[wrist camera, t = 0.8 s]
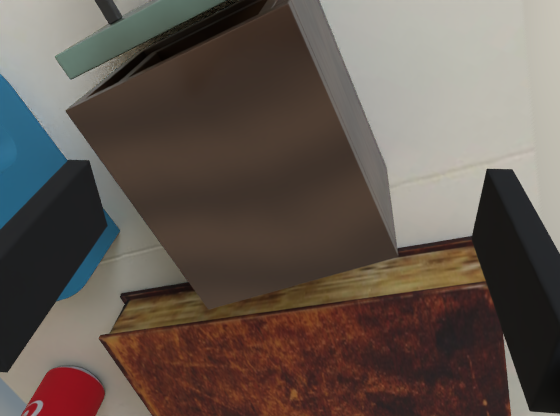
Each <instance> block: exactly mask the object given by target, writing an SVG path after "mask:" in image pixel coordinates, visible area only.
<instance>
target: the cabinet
mask: <svg viewBox="0 0 560 416" xmlns="http://www.w3.org/2000/svg"><path fill="white" fill-rule="evenodd" d="M255 1H257V0H240V1H238V2H236V3H234V4H232V5H230V6H228V7H226V8H224V9H222V10H220V11H218V12H216V13H214V14H212V15H210V16H208V17H206V18H204V19H202V20H200V21H198V22H196V23H194V24H192V25H190V26H188V27H186V28H184V29H182V30H180V31H178V32H176V33H174V34H172V35H170V36H168V37H166V38H164V39H162V40H160V41H158V42H156V43H154V44H152V45H150V46H148V47H146V48H144V49H142V50H140V51H138V52H137V53H136V54H134V55H133V56H132V57H131V58H129V59H128V60H127V61H126V62H124V63H123V64H122V65H121V66H120V67H118V68H117V69H116V70H115V71H113V72H112V73H111V74H110V75H108V76H107V77H106V78H105V79H104V80H102V81H101V82H100V83H99V84H97V85H96V86H95V87H94V88H93V89H91V90H90V91H89V92H88V93H86V94H85V95H84V96H83V97H82V98H80V99H79V100H78V101H77V102H75V103H74V104H73V105H72V106H71V107H69V108H68V109H67V110H66V113H67V114H68V115H69V117H70V118H71V120H72V121H73V122H74V124H75V125H76V126H77V128H78V129H79V131H80V132H81V133H82V135H83V136H84V138H85V139H86V140H87V142H88V143H89V144H90V146H91V147H92V149H93V150H94V151H95V153H96V154H97V156H98V157H99V158H100V160H101V161H102V163H103V164H104V165H105V167H106V168H107V169H108V171H109V172H110V174H111V175H112V176H113V178H114V179H115V181H116V182H117V183H118V185H119V186H120V188H121V189H122V190H123V192H124V193H125V194H126V196H127V197H128V199H129V200H130V201H131V203H132V204H133V206H134V207H135V208H136V210H137V211H138V213H139V214H140V215H141V217H142V218H143V219H144V221H145V222H146V224H147V225H148V226H149V228H150V229H151V231H152V232H153V233H154V235H155V236H156V237H157V239H158V240H159V242H160V243H161V244H162V246H163V247H164V249H165V250H166V251H167V253H168V254H169V256H170V257H171V258H172V260H173V261H174V262H175V264H176V265H177V267H178V268H179V269H180V271H181V272H182V274H183V275H184V276H185V278H186V279H187V281H188V282H189V283H190V285H191V286H192V287H193V289H194V290H195V292H196V293H197V294H198V296H199V297H200V299H201V300H202V301H203V303H204V304H205V306H206V307H207V308H208V309H213V308H216V307H220V306H224V305H227V304H231V303H234V302H238V301H242V300H245V299H249V298H252V297H256V296H260V295H263V294H267V293H270V292H274V291H278V290H281V289H285V288H289V287H292V286H296V285H299V284H303V283H307V282H310V281H314V280H317V279H321V278H325V277H328V276H332V275H335V274H339V273H343V272H346V271H350V270H353V269H357V268H361V267H364V266H368V265H371V264H375V263H379V262H382V261H386V260H390V259H393V258H397V257H398V250H397V243H396V235H395V228H394V220H393V213H392V205H391V197H390V190H389V182H388V175H387V167H386V165H385V162H384V160H383V157H382V155H381V152H380V150H379V148H378V145H377V143H376V140H375V138H374V135H373V133H372V130H371V128H370V125H369V123H368V120H367V118H366V115H365V113H364V110H363V108H362V105H361V103H360V100H359V98H358V95H357V93H356V91H355V88H354V86H353V83H352V81H351V78H350V76H349V73H348V71H347V68H346V66H345V63H344V61H343V58H342V56H341V53H340V51H339V48H338V46H337V43H336V41H335V39H334V36H333V34H332V31H331V29H330V26H329V24H328V21H327V19H326V16H325V14H324V11H323V9H322V6H321V4H320V1H319V0H278V1H277V3H276V4H275V6H274V7H273V8H271V9H269V10H267V11H264V12H262V13H260V14H258V15H256V16H254V17H252V18H250V19H248V20H246V21H244V22H242V23H240V24H238V25H236V26H234V27H232V28H229V29H227V30H225V31H223V32H221V33H219V34H217V35H215V36H213V37H211V38H209V39H207V40H205V41H203V42H201V43H199V44H197V45H194V46H192V47H190V48H188V49H186V50H184V51H182V52H180V53H178V54H176V55H174V56H172V57H170V58H168V59H166V60H164V61H162V62H159V63H157V64H155V65H153V66H151V67H149V68H147V69H145V70H143V71H141V72H139V73H137V74H135V75H133V76H131V77H129V78H127V79H124V80H122V81H120V80H121V79H122V78H123V77H125V76H126V75H127V74H128V73H129V72H130V71H131V70H133V69H134V68H135V67H136V66H137V65H138V64H139V63H141V62H142V61H143V60H144V59H145V58H146V57H147V56H148V55H149V54H151V53H152V52H154V51H156V50H158V49H160V48H163V47H165V46H167V45H169V44H171V43H173V42H175V41H177V40H179V39H181V38H183V37H185V36H187V35H189V34H191V33H193V32H195V31H197V30H199V29H201V28H203V27H205V26H207V25H209V24H211V23H213V22H215V21H217V20H219V19H221V18H223V17H225V16H227V15H229V14H231V13H233V12H235V11H237V10H239V9H241V8H243V7H245V6H247V5H249V4H251V3H253V2H255ZM119 81H120V82H119Z"/></svg>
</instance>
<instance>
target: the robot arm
mask: <svg viewBox="0 0 560 416" xmlns="http://www.w3.org/2000/svg"><path fill="white" fill-rule="evenodd" d="M107 226H108V225H107V221H106V218H105V214H104V211H103V207H102V204H101V200H100V197H99V193H98V190H97V186H96V183H95V179H94V175H93V172H92V168H91V165H90V161H89V160H68V161H67V162H66V163H65V164H64V165H63V166H62V167H61V168H60V169H59V170H58V171H57V172H56V173H55V174H54V175H53V176H52V177H51V178H50V179H49V180H48V181H47V182H46V183H45V184H44V185H43V186H42V187H41V188H40V189H39V190H38V191H37V192H36V193H35V194H34V195H33V196H32V197H31V198H30V200H29V201H28V202H27V203H26V204H25V205H24V206H23V207H22V208H21V209H20V210H19V211H18V212H17V213H16V214H15V215H14V216H13V217H12V218H11V219H10V220H9V221H8V222H7V223H6V224H5V225H4V226H3V227H2V228H1V229H0V372H8V371H9V369H10V368H11V366H12V365H13V364H14V362H15V361H16V359H17V358H18V356H19V355H20V353H21V352H22V350H23V349H24V347H25V346H26V344H27V343H28V342H29V340H30V339H31V337H32V336H33V334H34V333H35V331H36V330H37V328H38V327H39V325H40V324H41V323H42V321H43V320H44V318H45V317H46V315H47V314H48V312H49V311H50V309H51V308H52V306H53V305H54V304H55V302H56V301H57V299H58V298H59V296H60V295H61V293H62V292H63V290H64V289H65V287H66V286H67V284H68V283H69V282H70V280H71V279H72V277H73V276H74V274H75V273H76V271H77V270H78V268H79V267H80V265H81V264H82V263H83V261H84V260H85V258H86V257H87V255H88V254H89V252H90V251H91V249H92V248H93V246H94V245H95V243H96V242H97V241H98V239H99V238H100V236H101V235H102V233H103V232H104V230H105V229H106V227H107ZM472 242H473V245H474V248H475V251H476V254H477V257H478V260H479V263H480V266H481V269H482V272H483V275H484V278H485V281H486V284H487V286H488V289H489V292H490V295H491V298H492V301H493V304H494V307H495V310H496V313H497V316H498V319H499V322H500V325H501V328H502V331H503V334H504V337H505V339H506V342H507V345H508V348H509V351H510V354H511V357H512V360H513V363H514V366H515V369H516V372H517V375H518V378H519V381H520V384H521V387H522V389H523V392H524V395H525V398H526V401H527V404H528V407H529V410H530V411H533V412H546V413H559V414H560V254H559V252H558V250H557V248H556V246H555V245H554V243H553V241H552V239H551V237H550V236H549V234H548V232H547V230H546V228H545V227H544V225H543V223H542V221H541V220H540V218H539V216H538V214H537V212H536V211H535V209H534V207H533V205H532V203H531V202H530V200H529V198H528V196H527V194H526V193H525V191H524V189H523V187H522V186H521V184H520V182H519V180H518V178H517V177H516V175H515V173H514V171H513V169H487V171H486V175H485V180H484V184H483V189H482V193H481V198H480V202H479V207H478V212H477V216H476V221H475V225H474V230H473V234H472Z"/></svg>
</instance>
